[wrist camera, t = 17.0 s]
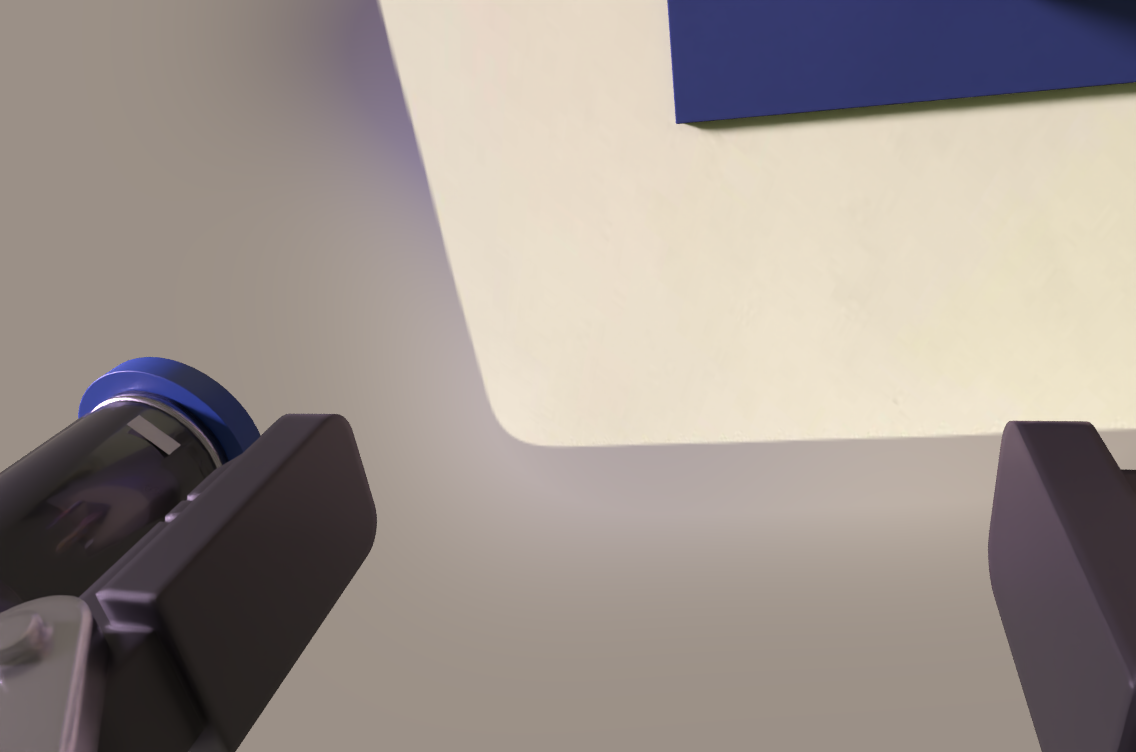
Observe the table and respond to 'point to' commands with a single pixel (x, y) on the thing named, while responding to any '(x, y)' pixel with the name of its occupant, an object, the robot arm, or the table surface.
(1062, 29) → the felt mat
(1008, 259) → the table surface
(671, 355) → the table surface
